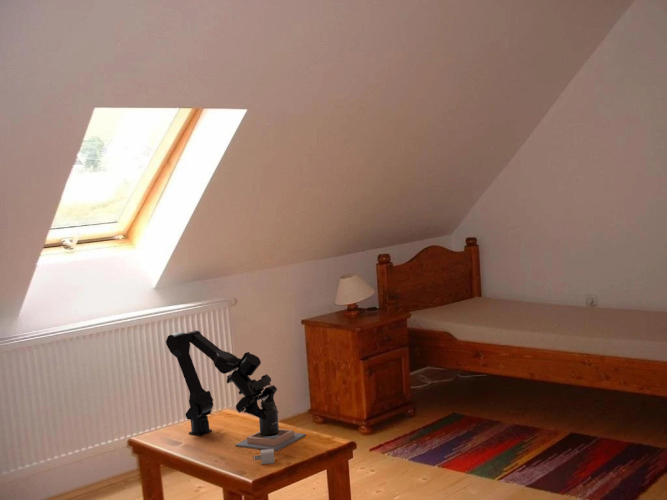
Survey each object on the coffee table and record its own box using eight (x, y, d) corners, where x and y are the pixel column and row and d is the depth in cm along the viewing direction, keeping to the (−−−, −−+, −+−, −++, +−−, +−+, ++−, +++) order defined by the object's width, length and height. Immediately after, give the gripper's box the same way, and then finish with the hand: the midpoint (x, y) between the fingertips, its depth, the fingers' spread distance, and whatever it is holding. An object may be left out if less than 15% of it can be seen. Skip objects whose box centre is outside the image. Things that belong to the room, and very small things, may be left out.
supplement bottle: (277, 436, 282) (275, 403, 281) (258, 437, 282) (256, 404, 281) (280, 430, 288) (278, 398, 288) (261, 431, 289) (259, 399, 288)
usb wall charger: (274, 463, 261) (273, 451, 260) (253, 466, 260) (252, 454, 260) (274, 459, 265) (273, 448, 264) (253, 462, 264) (252, 450, 264)
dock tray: (235, 446, 283) (234, 439, 282) (265, 431, 298) (265, 424, 298) (276, 451, 273) (276, 443, 273) (305, 435, 288) (305, 428, 288)
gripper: (239, 375, 278) (267, 409, 273) (271, 363, 293) (298, 395, 289) (223, 395, 282) (251, 429, 278) (255, 382, 298) (282, 414, 293)
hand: (271, 416), depth 284 cm, fingers closed on supplement bottle, 7 cm apart
